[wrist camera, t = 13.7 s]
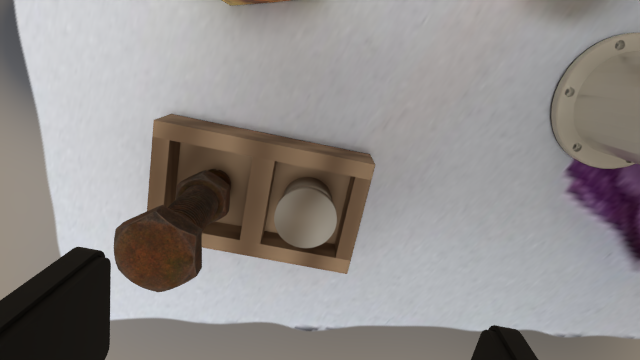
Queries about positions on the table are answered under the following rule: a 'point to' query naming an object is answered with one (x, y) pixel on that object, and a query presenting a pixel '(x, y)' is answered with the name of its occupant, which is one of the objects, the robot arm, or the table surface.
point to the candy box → (249, 1)
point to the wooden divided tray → (267, 190)
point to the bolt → (172, 233)
